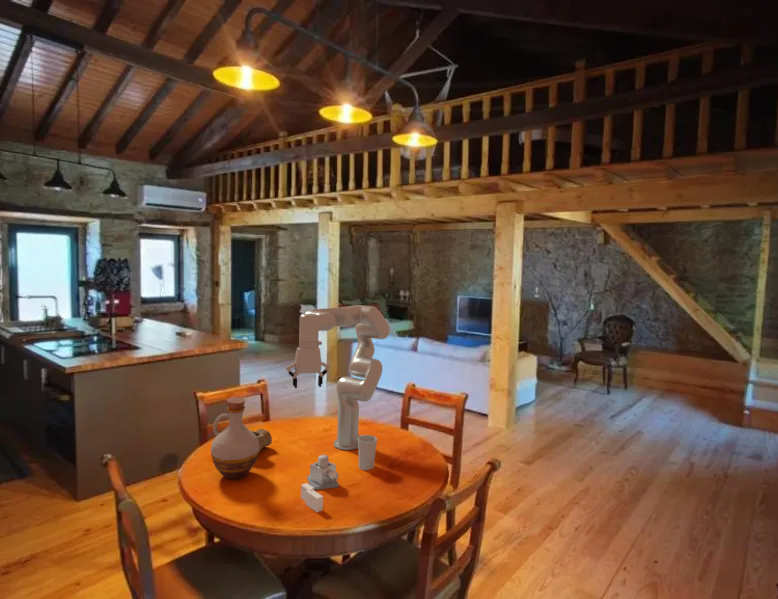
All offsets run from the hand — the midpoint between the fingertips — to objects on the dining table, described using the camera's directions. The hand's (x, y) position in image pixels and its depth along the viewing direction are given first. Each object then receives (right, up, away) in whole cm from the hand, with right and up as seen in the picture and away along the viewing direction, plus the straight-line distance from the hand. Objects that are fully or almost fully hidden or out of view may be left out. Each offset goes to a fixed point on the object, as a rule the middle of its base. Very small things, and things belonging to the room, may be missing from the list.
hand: (307, 386), depth 191 cm
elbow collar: (+9, -34, -11) cm, 37 cm away
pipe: (-25, -32, +14) cm, 43 cm away
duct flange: (+7, -35, -10) cm, 37 cm away
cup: (+23, -34, +5) cm, 42 cm away
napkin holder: (+6, -37, -25) cm, 45 cm away
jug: (-28, -33, -6) cm, 44 cm away
